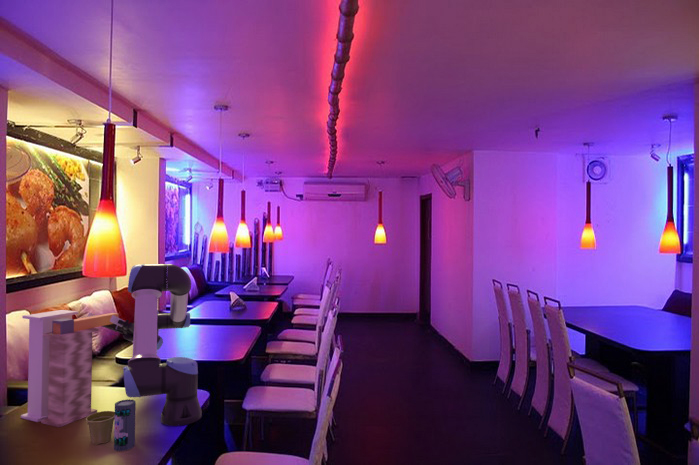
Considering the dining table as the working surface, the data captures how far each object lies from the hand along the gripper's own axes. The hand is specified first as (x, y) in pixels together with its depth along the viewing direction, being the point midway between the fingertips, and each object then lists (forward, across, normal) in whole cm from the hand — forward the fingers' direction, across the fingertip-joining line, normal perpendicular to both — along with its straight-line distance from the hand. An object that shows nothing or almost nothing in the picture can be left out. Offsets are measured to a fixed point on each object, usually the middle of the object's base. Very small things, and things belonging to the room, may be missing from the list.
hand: (99, 317), depth 190 cm
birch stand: (-8, 0, -39) cm, 39 cm away
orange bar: (+3, 0, -6) cm, 7 cm away
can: (0, -40, -44) cm, 59 cm away
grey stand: (-8, +12, -39) cm, 41 cm away
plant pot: (0, -29, -44) cm, 53 cm away
